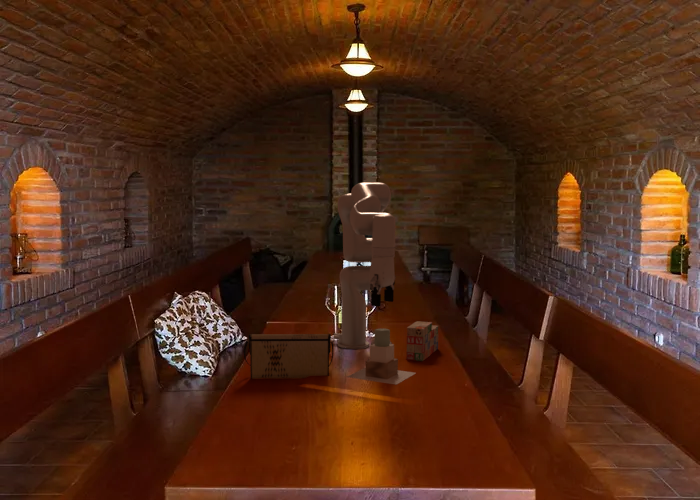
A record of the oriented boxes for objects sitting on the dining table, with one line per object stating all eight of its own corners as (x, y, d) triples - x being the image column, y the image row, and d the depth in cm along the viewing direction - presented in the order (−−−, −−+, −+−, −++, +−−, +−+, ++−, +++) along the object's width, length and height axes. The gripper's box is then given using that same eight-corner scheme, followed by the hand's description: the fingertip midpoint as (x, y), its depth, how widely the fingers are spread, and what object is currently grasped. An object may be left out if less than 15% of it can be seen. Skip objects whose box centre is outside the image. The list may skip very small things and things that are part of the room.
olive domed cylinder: (371, 345, 242) (372, 330, 242) (378, 342, 247) (378, 328, 246) (385, 347, 240) (385, 332, 240) (392, 344, 244) (392, 329, 244)
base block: (365, 376, 243) (365, 361, 242) (376, 370, 250) (376, 356, 249) (387, 379, 239) (387, 364, 238) (397, 373, 246) (397, 358, 246)
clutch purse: (333, 373, 250) (333, 330, 248) (334, 379, 243) (334, 334, 241) (244, 374, 248) (244, 330, 246) (243, 380, 241) (242, 335, 240)
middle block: (369, 360, 243) (369, 345, 242) (377, 357, 248) (377, 342, 247) (386, 363, 240) (386, 348, 239) (393, 359, 245) (394, 344, 245)
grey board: (346, 380, 242) (346, 376, 242) (368, 369, 256) (368, 366, 256) (396, 388, 233) (396, 384, 233) (416, 376, 247) (416, 372, 247)
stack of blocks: (422, 347, 290) (423, 316, 289) (438, 349, 287) (438, 318, 286) (406, 360, 270) (406, 326, 269) (422, 361, 268) (423, 328, 266)
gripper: (384, 249, 252) (383, 298, 254) (361, 254, 237) (360, 306, 239) (404, 250, 249) (403, 300, 251) (382, 255, 234) (381, 309, 235)
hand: (382, 303), depth 245 cm, fingers open, 9 cm apart
